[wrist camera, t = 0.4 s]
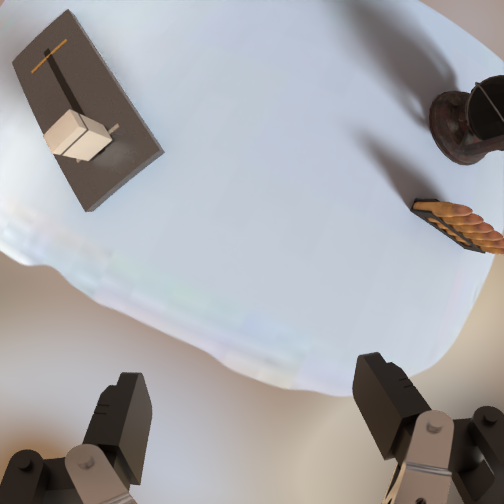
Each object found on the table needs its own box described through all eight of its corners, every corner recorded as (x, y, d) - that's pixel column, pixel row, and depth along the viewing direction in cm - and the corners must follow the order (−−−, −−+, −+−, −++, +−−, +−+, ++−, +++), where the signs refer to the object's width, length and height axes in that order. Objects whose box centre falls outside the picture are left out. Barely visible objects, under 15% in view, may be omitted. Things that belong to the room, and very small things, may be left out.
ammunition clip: (409, 210, 37) (462, 214, 25) (415, 197, 37) (469, 197, 25) (464, 249, 38) (520, 264, 26) (470, 237, 37) (526, 249, 26)
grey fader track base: (164, 152, 37) (159, 149, 35) (92, 211, 38) (85, 212, 36) (73, 14, 33) (67, 8, 31) (18, 65, 35) (11, 62, 32)
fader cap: (112, 139, 34) (79, 126, 26) (88, 161, 35) (51, 153, 27) (103, 124, 34) (69, 108, 26) (79, 146, 34) (42, 135, 26)
